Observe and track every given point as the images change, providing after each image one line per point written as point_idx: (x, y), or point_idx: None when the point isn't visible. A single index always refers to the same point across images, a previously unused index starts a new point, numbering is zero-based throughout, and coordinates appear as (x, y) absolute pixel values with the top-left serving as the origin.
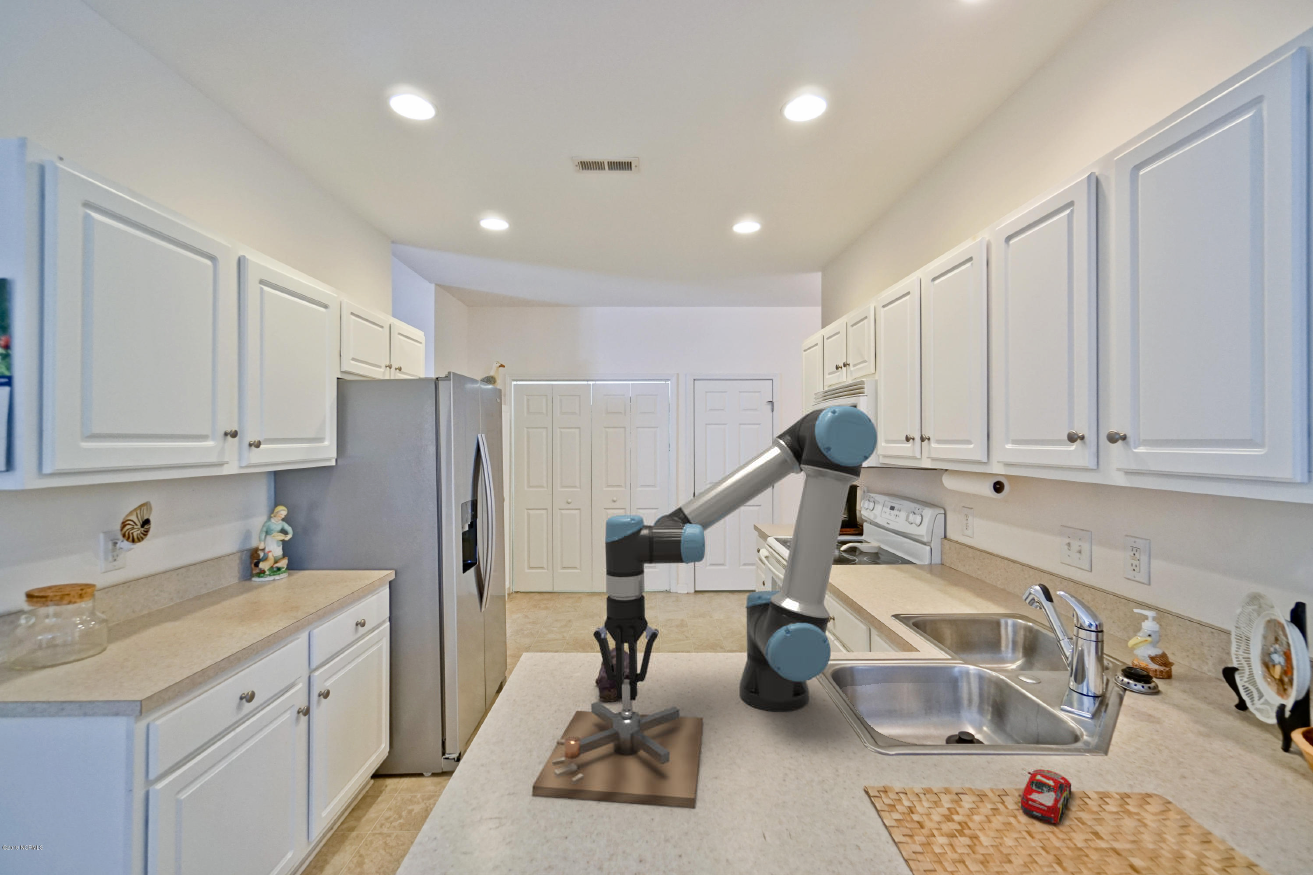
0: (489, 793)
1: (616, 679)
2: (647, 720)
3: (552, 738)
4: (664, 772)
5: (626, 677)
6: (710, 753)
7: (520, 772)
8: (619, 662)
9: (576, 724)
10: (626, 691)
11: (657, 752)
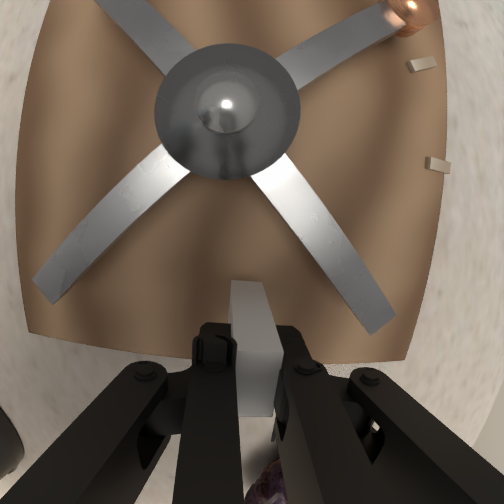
0: (491, 37)
1: (326, 374)
2: (136, 170)
3: (448, 238)
4: (111, 21)
5: (269, 491)
6: (10, 179)
7: (475, 89)
8: (336, 463)
9: (406, 283)
10: (251, 331)
11: None
